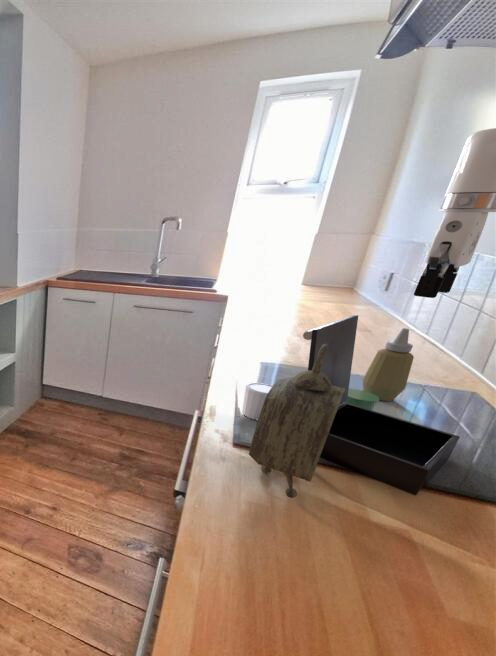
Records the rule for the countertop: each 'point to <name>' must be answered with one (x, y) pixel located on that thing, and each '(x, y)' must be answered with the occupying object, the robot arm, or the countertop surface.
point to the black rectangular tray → (387, 447)
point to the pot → (362, 399)
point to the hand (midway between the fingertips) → (431, 294)
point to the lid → (334, 350)
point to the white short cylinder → (254, 399)
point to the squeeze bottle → (390, 368)
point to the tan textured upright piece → (296, 423)
